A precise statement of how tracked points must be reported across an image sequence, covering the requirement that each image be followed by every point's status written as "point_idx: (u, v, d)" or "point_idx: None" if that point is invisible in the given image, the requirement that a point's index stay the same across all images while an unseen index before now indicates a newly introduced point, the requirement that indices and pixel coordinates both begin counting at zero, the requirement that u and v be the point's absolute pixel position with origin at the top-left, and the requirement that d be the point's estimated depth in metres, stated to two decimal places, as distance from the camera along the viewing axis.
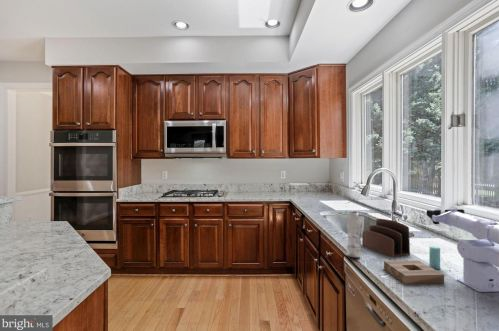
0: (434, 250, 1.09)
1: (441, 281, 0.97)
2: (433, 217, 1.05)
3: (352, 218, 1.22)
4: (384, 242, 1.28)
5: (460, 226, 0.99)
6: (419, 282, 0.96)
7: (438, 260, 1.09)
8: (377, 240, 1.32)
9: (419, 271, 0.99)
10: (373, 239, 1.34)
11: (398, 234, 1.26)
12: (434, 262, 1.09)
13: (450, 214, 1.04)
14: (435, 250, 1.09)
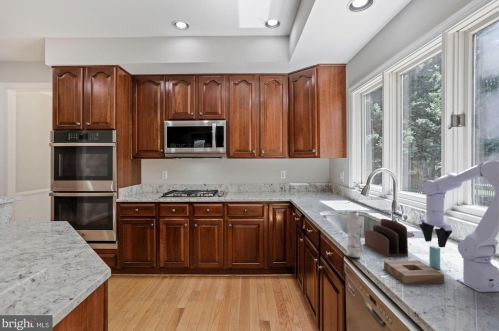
0: (434, 250, 1.09)
1: (441, 281, 0.97)
2: (447, 228, 1.03)
3: (352, 218, 1.22)
4: (381, 241, 1.29)
5: (432, 206, 1.09)
6: (419, 282, 0.96)
7: (438, 260, 1.09)
8: (376, 239, 1.33)
9: (419, 271, 0.99)
10: (373, 238, 1.35)
11: (395, 234, 1.25)
12: (434, 262, 1.09)
13: (434, 220, 1.08)
14: (435, 250, 1.09)
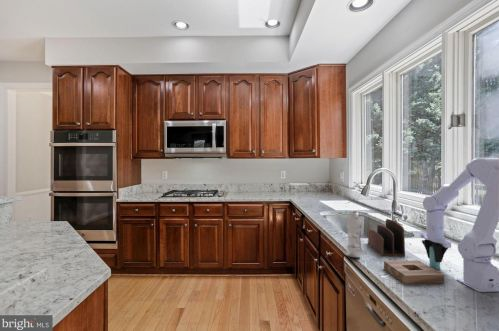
0: None
1: (441, 281, 0.97)
2: (447, 245, 1.04)
3: (352, 218, 1.22)
4: (378, 241, 1.30)
5: (432, 222, 1.09)
6: (419, 282, 0.96)
7: None
8: (375, 239, 1.34)
9: (419, 271, 0.99)
10: (373, 238, 1.37)
11: (391, 234, 1.26)
12: (434, 262, 1.09)
13: (434, 236, 1.09)
14: None
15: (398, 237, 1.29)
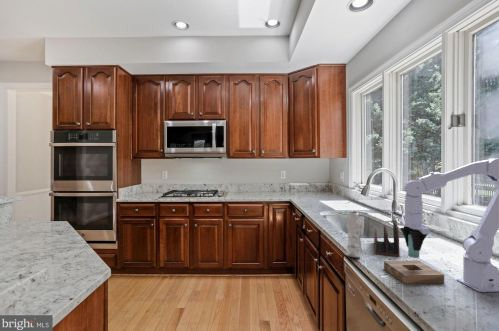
0: None
1: (441, 281, 0.97)
2: (425, 231, 0.96)
3: (352, 218, 1.22)
4: (375, 240, 1.32)
5: (417, 208, 1.01)
6: (419, 282, 0.96)
7: None
8: None
9: (419, 271, 0.99)
10: None
11: (386, 233, 1.27)
12: (413, 251, 1.02)
13: (412, 223, 1.01)
14: None
15: (396, 237, 1.28)
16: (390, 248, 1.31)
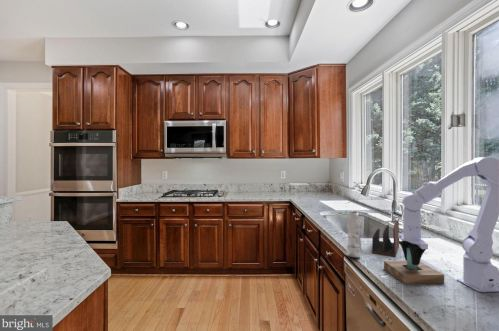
0: None
1: (441, 281, 0.97)
2: (424, 246, 0.96)
3: (352, 218, 1.22)
4: None
5: (416, 223, 1.00)
6: (419, 282, 0.96)
7: None
8: (375, 237, 1.36)
9: (419, 271, 0.99)
10: (376, 236, 1.39)
11: (383, 233, 1.27)
12: (412, 265, 1.02)
13: (410, 237, 1.01)
14: None
15: None
16: (389, 248, 1.31)
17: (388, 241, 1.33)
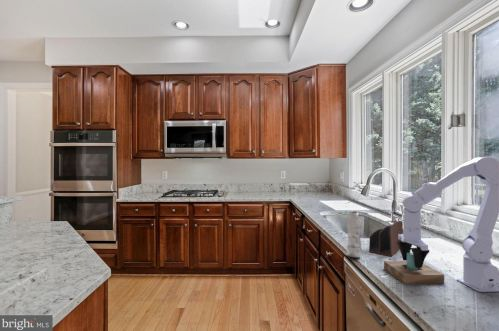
0: (412, 257, 1.02)
1: (441, 281, 0.97)
2: (424, 248, 0.96)
3: (352, 218, 1.22)
4: None
5: (416, 224, 1.00)
6: (419, 282, 0.96)
7: (416, 268, 1.02)
8: None
9: (419, 271, 0.99)
10: None
11: None
12: None
13: (410, 238, 1.01)
14: (413, 257, 1.02)
15: None
16: (389, 248, 1.31)
17: (388, 241, 1.33)
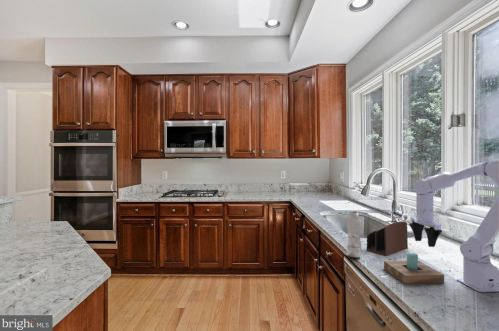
0: (412, 257, 1.02)
1: (441, 281, 0.97)
2: (437, 227, 1.02)
3: (352, 218, 1.22)
4: None
5: (424, 205, 1.07)
6: (419, 282, 0.96)
7: (416, 268, 1.02)
8: None
9: (419, 271, 0.99)
10: None
11: None
12: None
13: (424, 219, 1.07)
14: (413, 257, 1.02)
15: None
16: None
17: None
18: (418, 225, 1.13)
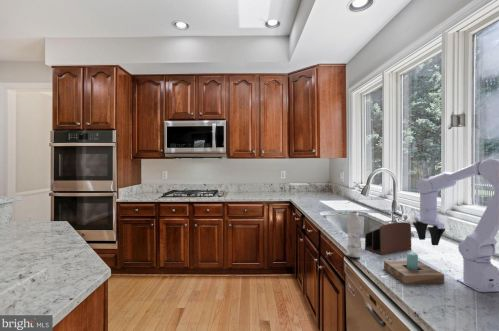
0: (412, 257, 1.02)
1: (441, 281, 0.97)
2: (440, 226, 1.04)
3: (352, 218, 1.22)
4: None
5: (426, 205, 1.10)
6: (419, 282, 0.96)
7: (416, 268, 1.02)
8: None
9: (419, 271, 0.99)
10: None
11: None
12: None
13: (427, 218, 1.09)
14: (413, 257, 1.02)
15: None
16: None
17: None
18: (422, 224, 1.15)
